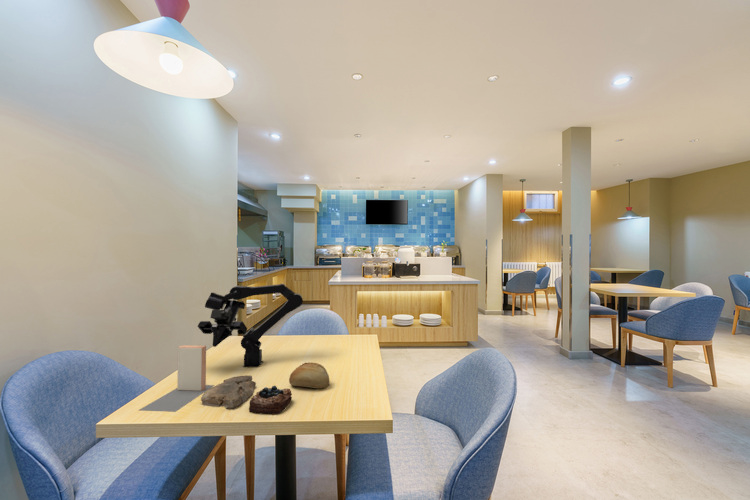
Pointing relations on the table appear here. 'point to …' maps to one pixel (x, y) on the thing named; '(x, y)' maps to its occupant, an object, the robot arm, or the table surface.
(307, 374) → the bread roll
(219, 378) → the table surface
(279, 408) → the pastry
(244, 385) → the flat grey rock
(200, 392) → the mat
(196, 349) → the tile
